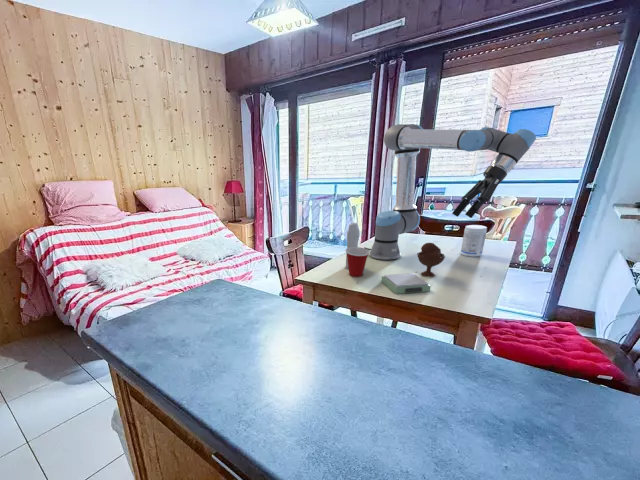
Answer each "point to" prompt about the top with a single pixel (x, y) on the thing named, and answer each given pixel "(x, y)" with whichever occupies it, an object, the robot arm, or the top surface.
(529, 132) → the robot arm
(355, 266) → the plastic cup
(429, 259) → the ice cream bowl
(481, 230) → the supplement tub
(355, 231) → the tall pale column
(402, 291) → the scale
